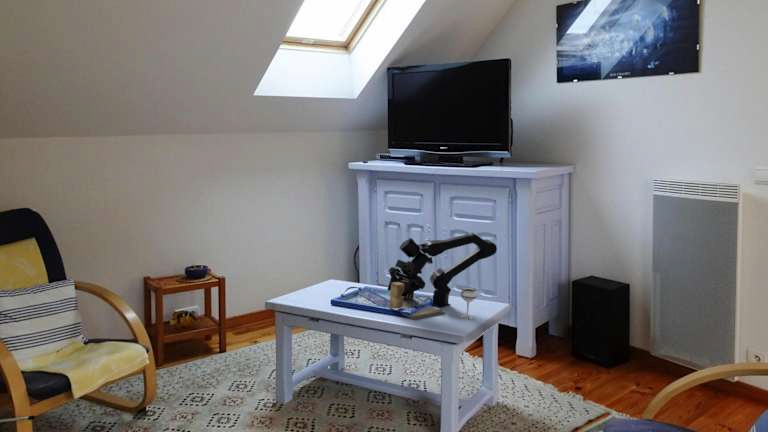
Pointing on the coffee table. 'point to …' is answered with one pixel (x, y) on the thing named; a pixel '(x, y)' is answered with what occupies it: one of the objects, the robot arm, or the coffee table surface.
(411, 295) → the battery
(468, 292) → the wineglass
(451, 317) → the coffee table surface
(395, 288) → the sleeve
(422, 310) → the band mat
